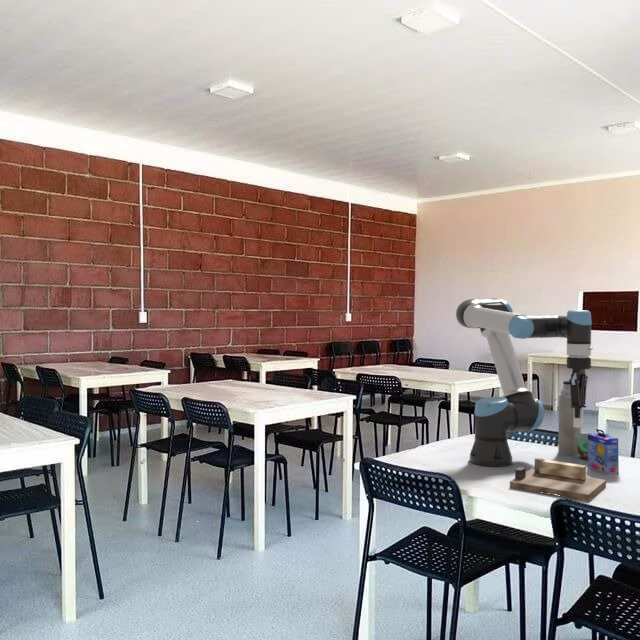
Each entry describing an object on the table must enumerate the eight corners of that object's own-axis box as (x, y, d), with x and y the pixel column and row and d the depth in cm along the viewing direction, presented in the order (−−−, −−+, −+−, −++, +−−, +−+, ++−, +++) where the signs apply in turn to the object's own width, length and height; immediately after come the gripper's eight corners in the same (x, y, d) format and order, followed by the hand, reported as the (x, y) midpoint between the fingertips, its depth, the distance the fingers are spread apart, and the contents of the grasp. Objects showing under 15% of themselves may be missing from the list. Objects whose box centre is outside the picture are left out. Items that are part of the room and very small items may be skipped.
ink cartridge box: (586, 467, 235) (586, 427, 235) (599, 466, 237) (599, 426, 237) (605, 474, 226) (606, 432, 226) (619, 473, 228) (619, 431, 227)
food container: (574, 460, 245) (574, 433, 245) (574, 456, 251) (574, 430, 251) (610, 463, 241) (610, 436, 241) (609, 459, 247) (609, 433, 246)
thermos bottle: (566, 450, 262) (567, 379, 262) (584, 453, 256) (585, 381, 255) (554, 452, 258) (554, 381, 257) (571, 456, 251) (572, 383, 250)
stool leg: (533, 472, 220) (533, 459, 220) (536, 470, 223) (536, 457, 223) (583, 480, 211) (583, 466, 211) (586, 478, 213) (586, 464, 213)
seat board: (509, 487, 210) (509, 472, 210) (531, 474, 226) (531, 459, 226) (588, 501, 196) (588, 484, 196) (605, 486, 212) (606, 470, 212)
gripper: (584, 358, 212) (584, 431, 213) (595, 355, 223) (595, 425, 223) (561, 357, 217) (560, 429, 217) (573, 354, 227) (572, 423, 228)
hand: (578, 427), depth 220 cm, fingers closed
